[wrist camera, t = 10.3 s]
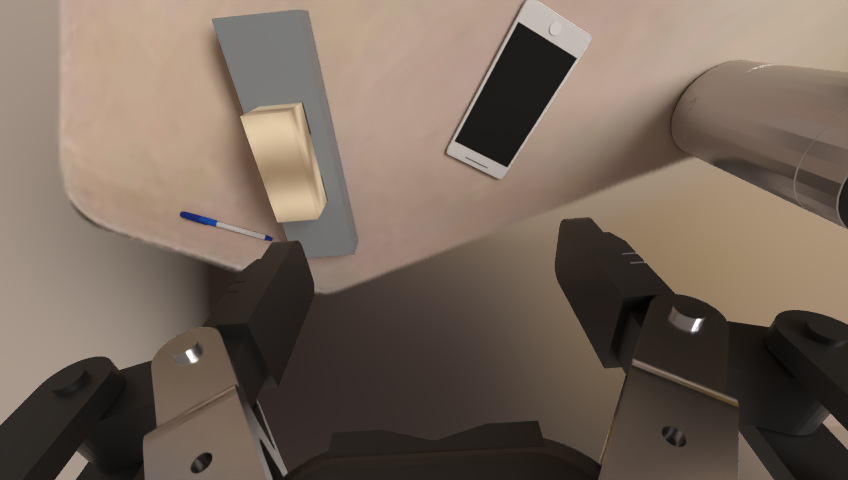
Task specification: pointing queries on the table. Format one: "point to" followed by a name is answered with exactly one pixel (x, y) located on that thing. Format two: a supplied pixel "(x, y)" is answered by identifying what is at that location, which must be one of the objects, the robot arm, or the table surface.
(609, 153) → the table surface
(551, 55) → the smartphone
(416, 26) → the table surface
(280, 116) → the tan rectangular block
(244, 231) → the ballpoint pen
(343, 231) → the slotted rail
